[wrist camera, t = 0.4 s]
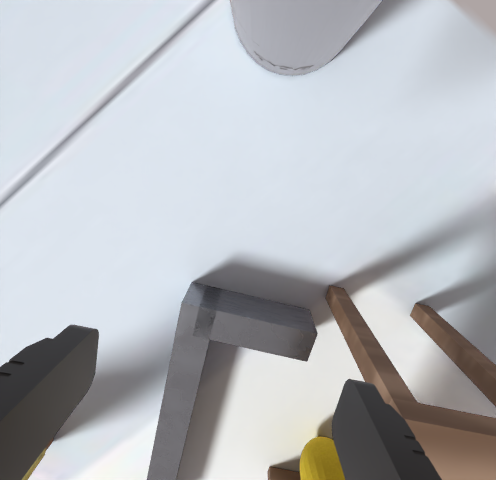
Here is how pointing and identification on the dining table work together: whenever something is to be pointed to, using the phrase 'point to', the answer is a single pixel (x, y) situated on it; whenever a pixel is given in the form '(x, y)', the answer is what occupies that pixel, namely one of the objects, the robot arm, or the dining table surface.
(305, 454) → the lemon
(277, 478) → the small wooden stool
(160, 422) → the crook tool
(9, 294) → the dining table surface
